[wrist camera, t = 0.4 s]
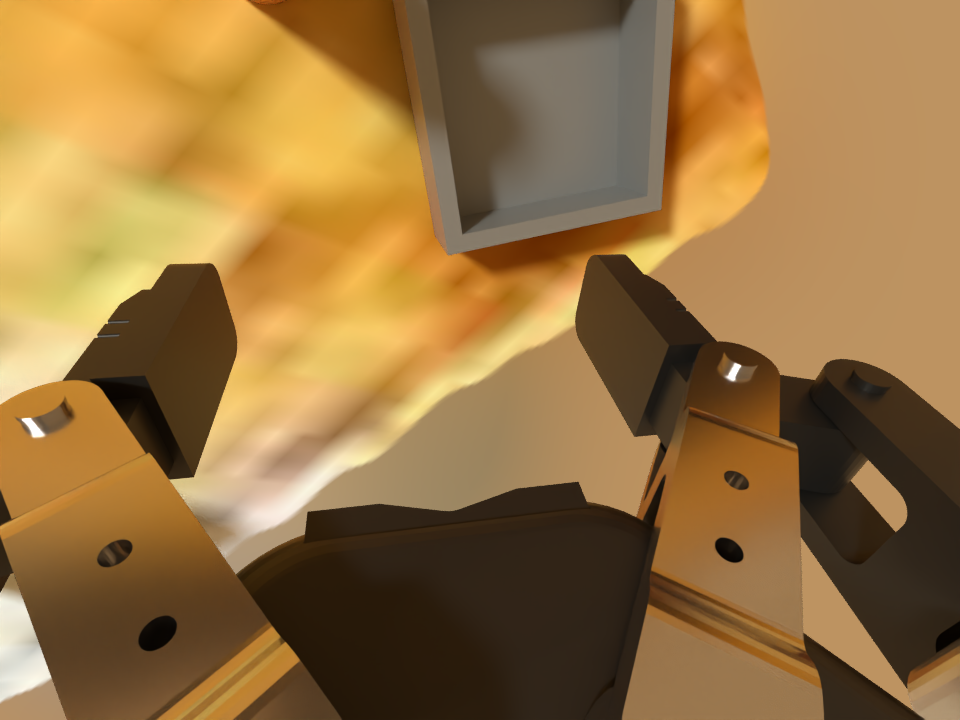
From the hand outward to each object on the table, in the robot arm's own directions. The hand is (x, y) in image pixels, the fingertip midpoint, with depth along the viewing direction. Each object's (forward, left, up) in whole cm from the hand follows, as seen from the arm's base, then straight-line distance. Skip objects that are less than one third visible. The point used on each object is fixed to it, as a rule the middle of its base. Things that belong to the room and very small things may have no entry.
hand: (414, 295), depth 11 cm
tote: (-2, +12, -27) cm, 29 cm away
